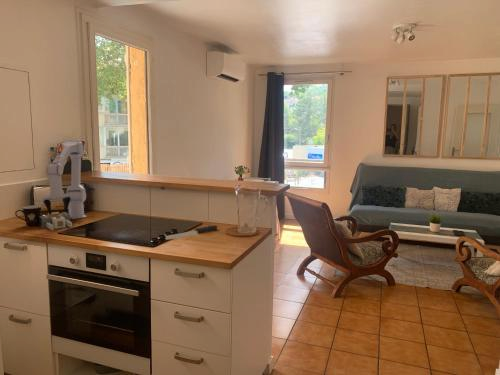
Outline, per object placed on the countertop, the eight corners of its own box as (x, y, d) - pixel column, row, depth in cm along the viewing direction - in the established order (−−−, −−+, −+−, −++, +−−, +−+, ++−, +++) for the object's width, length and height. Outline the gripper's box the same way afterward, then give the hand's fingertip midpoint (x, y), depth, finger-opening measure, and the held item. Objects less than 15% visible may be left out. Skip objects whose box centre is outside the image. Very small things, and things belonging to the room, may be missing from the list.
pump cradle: (45, 227, 200) (44, 222, 200) (67, 223, 207) (67, 219, 207) (50, 230, 193) (49, 225, 193) (73, 226, 201) (73, 222, 201)
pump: (52, 227, 201) (51, 215, 200) (62, 225, 204) (61, 214, 203) (55, 229, 197) (54, 217, 196) (66, 227, 200) (65, 216, 199)
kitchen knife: (167, 239, 177) (163, 234, 180) (167, 244, 178) (162, 239, 181) (220, 228, 194) (215, 223, 198) (220, 232, 195) (215, 228, 199)
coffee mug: (46, 223, 208) (44, 205, 206) (35, 227, 199) (34, 208, 198) (26, 222, 209) (24, 205, 208) (15, 226, 201) (13, 208, 199)
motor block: (39, 225, 203) (38, 214, 202) (66, 221, 213) (66, 210, 212) (42, 227, 199) (41, 216, 198) (70, 223, 208) (69, 212, 207)
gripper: (42, 189, 190) (45, 216, 192) (73, 186, 200) (75, 212, 202) (38, 188, 195) (41, 213, 197) (68, 185, 205) (70, 209, 207)
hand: (57, 212), depth 200 cm, fingers open, 7 cm apart
